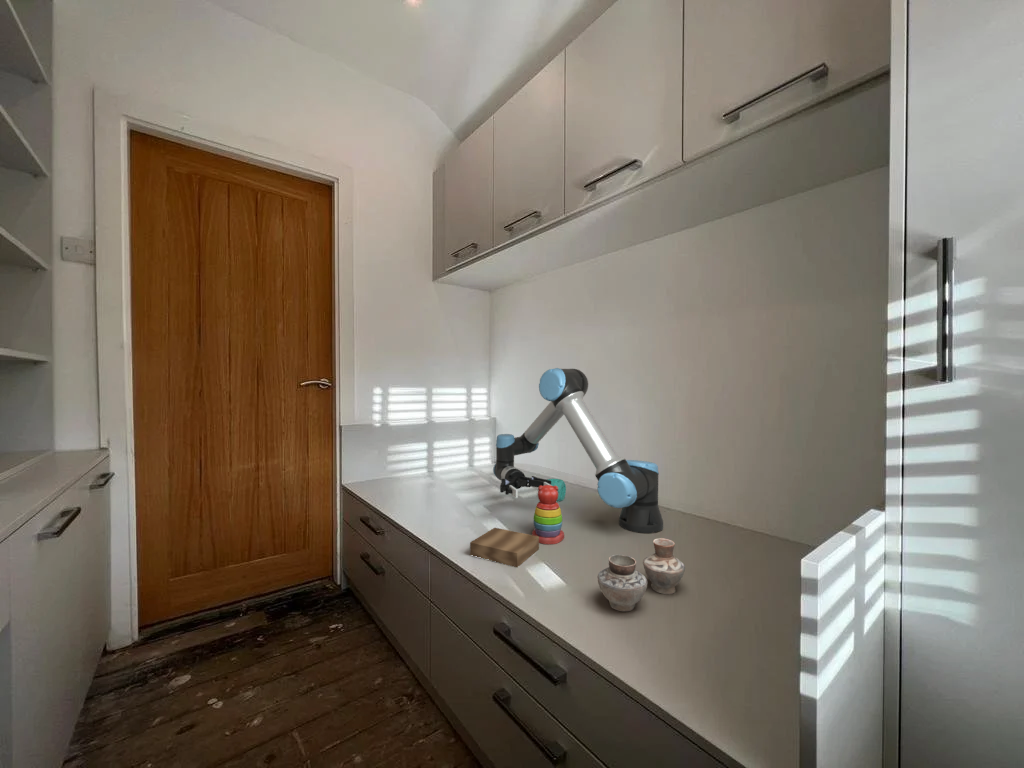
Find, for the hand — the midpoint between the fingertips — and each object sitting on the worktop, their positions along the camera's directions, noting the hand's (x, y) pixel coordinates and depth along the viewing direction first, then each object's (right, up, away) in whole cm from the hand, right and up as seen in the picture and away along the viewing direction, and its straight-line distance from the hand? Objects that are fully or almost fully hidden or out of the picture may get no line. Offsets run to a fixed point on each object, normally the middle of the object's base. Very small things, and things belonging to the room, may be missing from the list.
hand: (534, 492), depth 148 cm
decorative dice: (+10, -12, +35) cm, 39 cm away
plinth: (-10, -13, -20) cm, 26 cm away
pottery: (+24, -14, -45) cm, 53 cm away
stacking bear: (+4, -13, -9) cm, 17 cm away
